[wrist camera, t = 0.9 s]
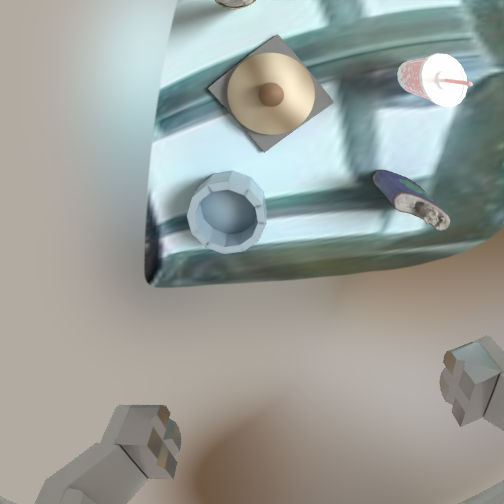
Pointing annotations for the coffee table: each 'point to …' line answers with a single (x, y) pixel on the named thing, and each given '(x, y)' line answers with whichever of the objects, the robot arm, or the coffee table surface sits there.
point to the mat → (279, 47)
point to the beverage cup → (435, 79)
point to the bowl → (228, 212)
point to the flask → (410, 198)
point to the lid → (271, 93)
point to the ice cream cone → (235, 3)
